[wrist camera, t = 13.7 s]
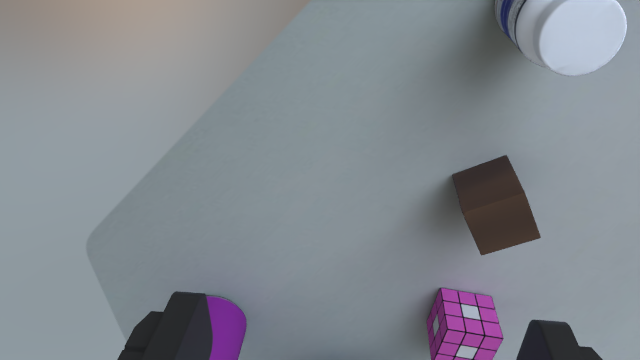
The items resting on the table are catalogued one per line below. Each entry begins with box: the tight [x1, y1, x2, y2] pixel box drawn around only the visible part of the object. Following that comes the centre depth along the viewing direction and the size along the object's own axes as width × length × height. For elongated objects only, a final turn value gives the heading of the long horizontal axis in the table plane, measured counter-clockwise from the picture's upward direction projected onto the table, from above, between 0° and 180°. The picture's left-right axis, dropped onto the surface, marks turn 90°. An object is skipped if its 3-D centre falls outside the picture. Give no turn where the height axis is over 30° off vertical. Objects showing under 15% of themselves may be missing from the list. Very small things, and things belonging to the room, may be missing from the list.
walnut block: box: [452, 155, 541, 255], centre depth 42 cm, size 5×5×6 cm
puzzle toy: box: [427, 288, 503, 360], centre depth 51 cm, size 6×6×6 cm
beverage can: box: [206, 296, 246, 360], centre depth 52 cm, size 8×8×12 cm
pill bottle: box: [495, 0, 627, 76], centre depth 31 cm, size 6×6×10 cm
